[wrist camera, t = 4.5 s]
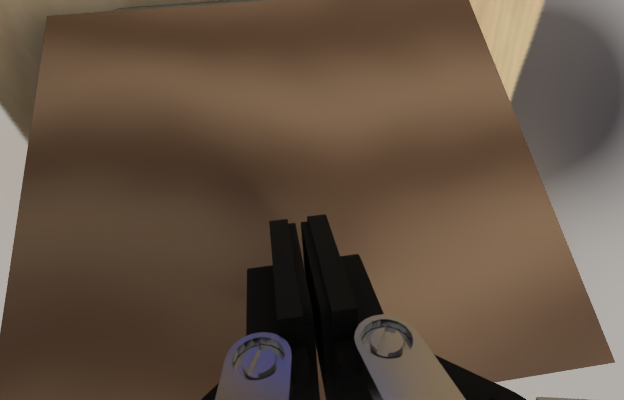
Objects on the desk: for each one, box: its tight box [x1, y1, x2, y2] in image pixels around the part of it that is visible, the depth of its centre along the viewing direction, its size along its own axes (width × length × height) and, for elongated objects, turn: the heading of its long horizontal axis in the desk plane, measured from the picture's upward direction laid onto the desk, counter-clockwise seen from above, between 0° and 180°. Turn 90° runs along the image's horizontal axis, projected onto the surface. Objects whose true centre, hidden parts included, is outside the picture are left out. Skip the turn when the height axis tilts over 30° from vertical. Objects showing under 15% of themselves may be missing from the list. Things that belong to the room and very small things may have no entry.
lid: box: [0, 0, 615, 400], centre depth 15 cm, size 17×18×2 cm
